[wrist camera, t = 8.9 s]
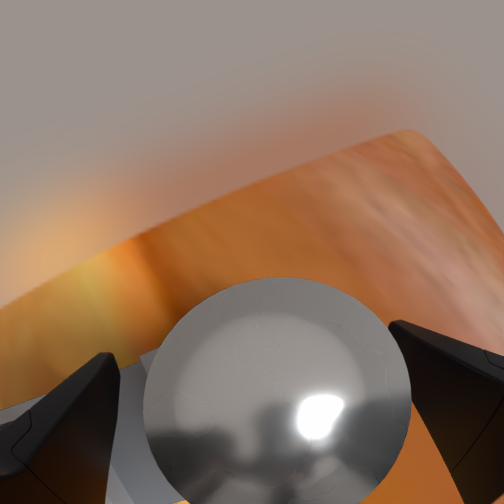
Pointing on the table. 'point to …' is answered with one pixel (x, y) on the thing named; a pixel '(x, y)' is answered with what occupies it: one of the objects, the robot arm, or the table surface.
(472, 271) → the table surface
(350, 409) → the cylinder
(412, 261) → the table surface
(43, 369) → the table surface
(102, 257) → the table surface
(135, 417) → the grey socket holder
